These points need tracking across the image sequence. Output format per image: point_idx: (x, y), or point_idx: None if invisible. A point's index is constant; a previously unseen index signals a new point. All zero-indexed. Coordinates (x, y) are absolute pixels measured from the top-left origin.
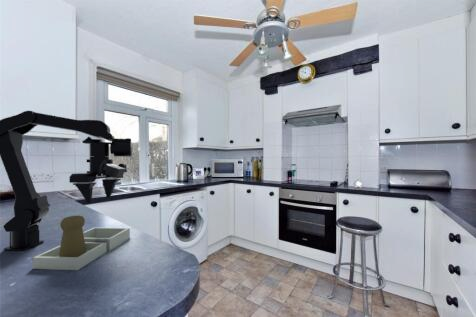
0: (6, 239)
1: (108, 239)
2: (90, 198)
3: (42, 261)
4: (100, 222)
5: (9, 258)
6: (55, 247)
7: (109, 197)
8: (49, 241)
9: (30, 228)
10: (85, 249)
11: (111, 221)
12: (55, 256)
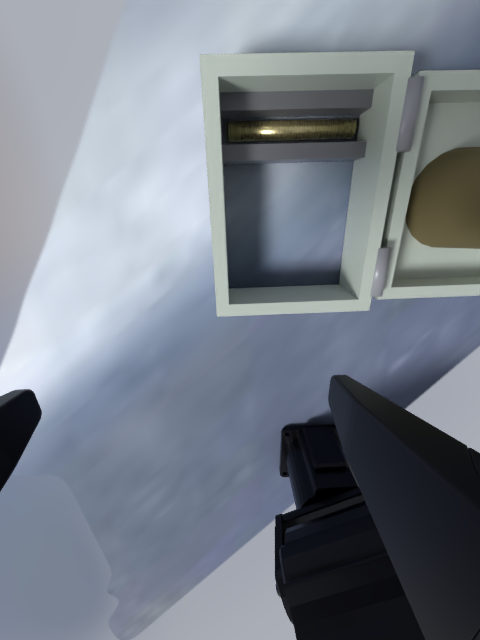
0: (262, 526)
1: (410, 65)
2: (382, 400)
3: None
4: (45, 415)
5: None
6: (437, 295)
7: (27, 391)
8: (271, 419)
9: (349, 484)
10: (460, 152)
11: (11, 381)
12: (435, 272)
